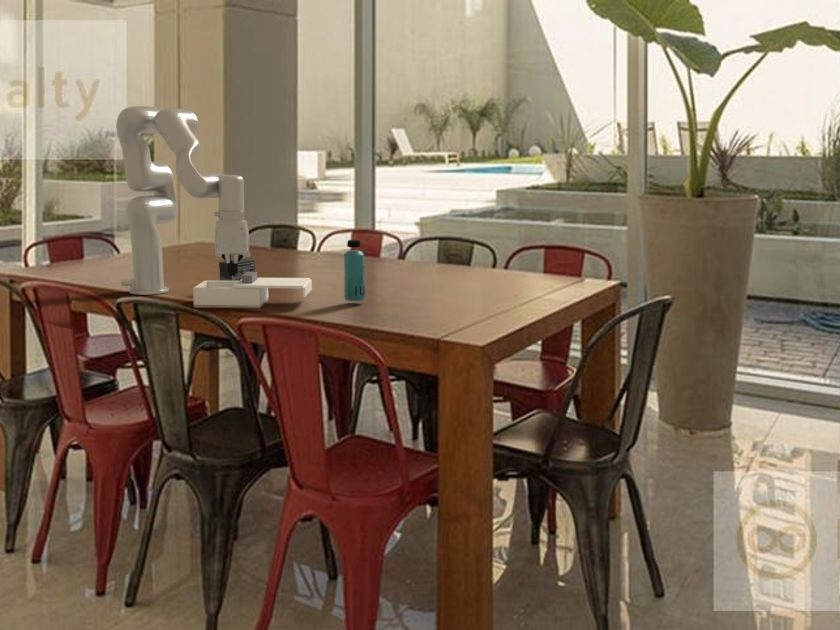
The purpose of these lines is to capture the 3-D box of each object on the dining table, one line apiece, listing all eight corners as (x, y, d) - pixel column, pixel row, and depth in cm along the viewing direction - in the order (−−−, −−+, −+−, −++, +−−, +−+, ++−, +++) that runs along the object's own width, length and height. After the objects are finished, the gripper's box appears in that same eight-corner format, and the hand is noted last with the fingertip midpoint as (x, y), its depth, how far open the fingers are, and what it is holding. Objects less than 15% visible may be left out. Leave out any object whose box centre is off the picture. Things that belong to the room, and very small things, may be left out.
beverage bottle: (354, 306, 272) (354, 241, 268) (339, 304, 276) (338, 239, 272) (369, 303, 276) (369, 239, 272) (354, 301, 281) (354, 238, 277)
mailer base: (193, 307, 269) (193, 287, 268) (205, 299, 283) (205, 280, 282) (259, 308, 269) (259, 288, 268) (268, 299, 283) (267, 281, 281)
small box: (244, 288, 304) (243, 257, 302) (256, 290, 300) (255, 259, 298) (219, 292, 296) (218, 261, 294) (232, 294, 292) (230, 262, 289)
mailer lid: (233, 296, 268) (232, 277, 267) (244, 288, 283) (243, 269, 281) (304, 297, 267) (304, 277, 266) (311, 288, 282) (311, 270, 281)
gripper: (204, 216, 267) (205, 277, 271) (253, 217, 267) (254, 278, 271) (210, 214, 274) (212, 273, 278) (258, 215, 274) (259, 274, 278)
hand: (233, 275), depth 274 cm, fingers closed
